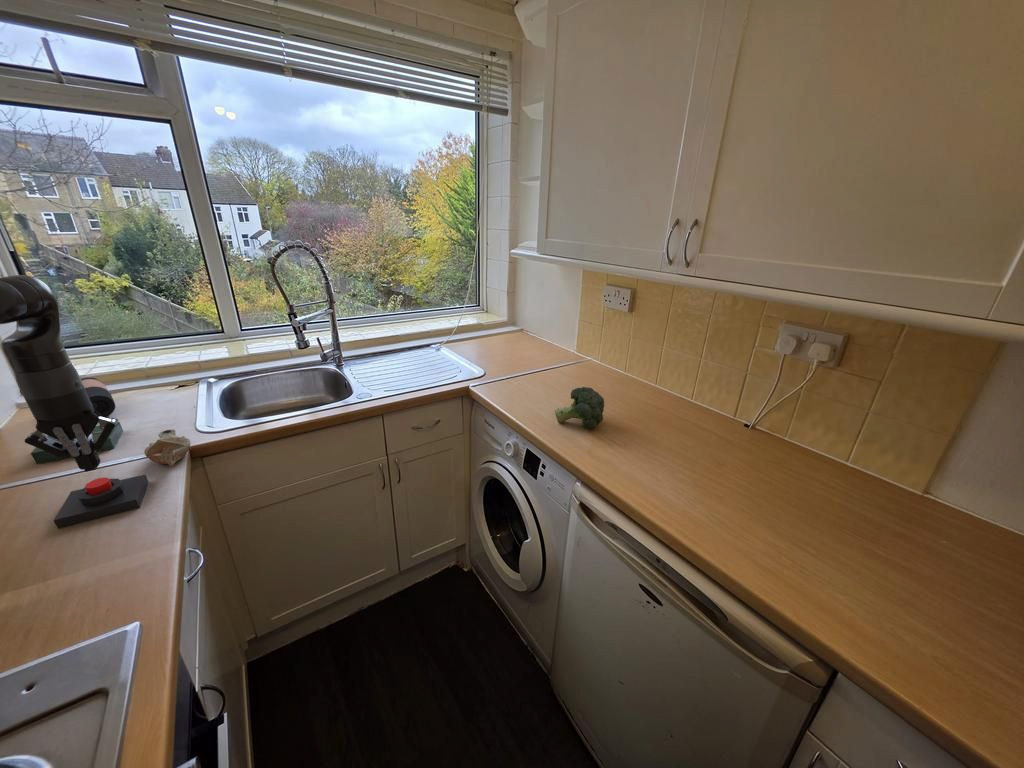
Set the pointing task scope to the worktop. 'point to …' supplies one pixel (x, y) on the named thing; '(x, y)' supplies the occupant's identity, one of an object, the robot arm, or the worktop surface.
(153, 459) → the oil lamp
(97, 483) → the light button
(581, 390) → the vegetable
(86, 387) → the travel mug
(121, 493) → the switch block
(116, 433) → the dimmer panel
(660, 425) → the worktop surface
